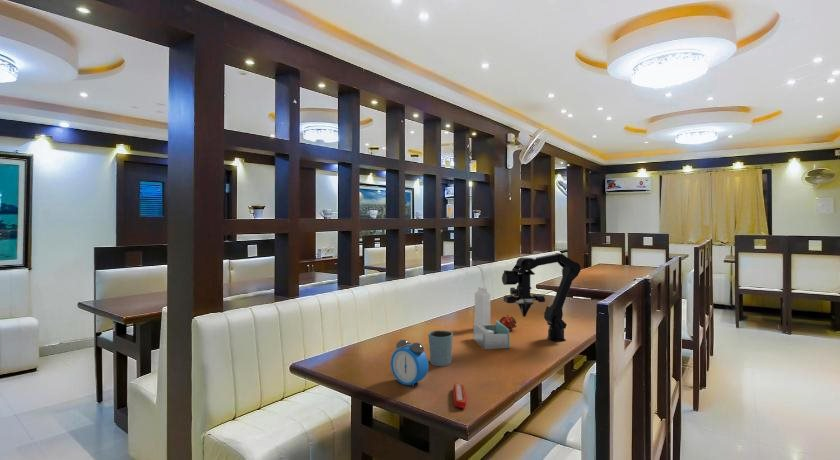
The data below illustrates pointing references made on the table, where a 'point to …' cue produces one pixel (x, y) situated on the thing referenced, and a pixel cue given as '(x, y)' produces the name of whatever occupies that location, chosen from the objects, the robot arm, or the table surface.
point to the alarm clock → (409, 362)
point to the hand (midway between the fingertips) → (524, 316)
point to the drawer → (501, 330)
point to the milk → (482, 307)
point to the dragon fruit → (508, 322)
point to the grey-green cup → (440, 347)
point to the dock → (489, 337)
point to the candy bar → (459, 396)
